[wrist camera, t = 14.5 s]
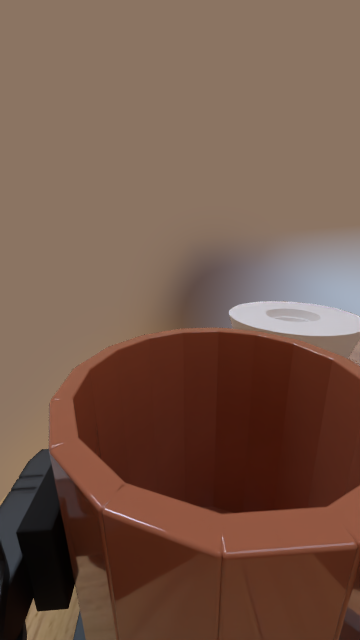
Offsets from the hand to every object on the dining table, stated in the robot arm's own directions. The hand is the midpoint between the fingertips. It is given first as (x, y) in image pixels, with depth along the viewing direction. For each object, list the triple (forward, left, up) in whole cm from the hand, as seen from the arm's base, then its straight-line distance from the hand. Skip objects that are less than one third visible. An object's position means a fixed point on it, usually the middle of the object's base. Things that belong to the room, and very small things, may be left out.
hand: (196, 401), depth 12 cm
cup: (0, -5, -6) cm, 8 cm away
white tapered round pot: (+23, +36, -18) cm, 46 cm away
